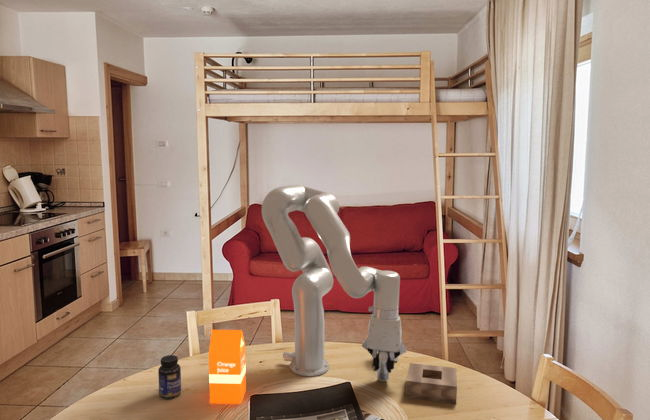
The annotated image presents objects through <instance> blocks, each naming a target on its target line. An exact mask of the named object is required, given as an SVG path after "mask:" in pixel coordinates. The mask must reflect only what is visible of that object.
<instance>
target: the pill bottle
mask: <svg viewBox="0 0 650 420" xmlns="http://www.w3.org/2000/svg"><path fill="white" fill-rule="evenodd" d="M178 362H179V357H178V356H177V355H174V354H169V355H164V356H162V357H161V358H160V366H159V368H158V373H157V374H158V393H159V394H158V396H159V398H160V399H163V400H173V399H176V398H178V397H179V396H181V393H182V375H181V374H182V373H181V366H180V364H178Z"/></svg>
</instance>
